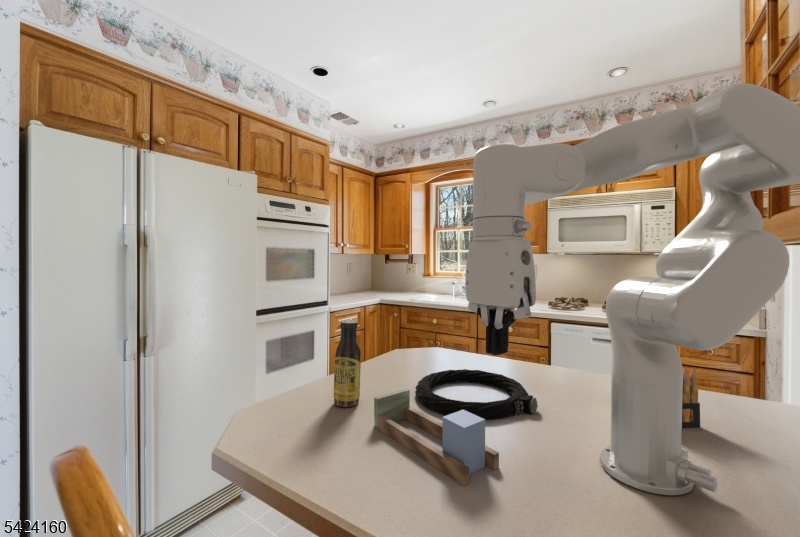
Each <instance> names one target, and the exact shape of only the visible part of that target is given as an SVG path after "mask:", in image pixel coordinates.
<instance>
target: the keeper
mask: <svg viewBox="0 0 800 537" xmlns="http://www.w3.org/2000/svg"><path fill="white" fill-rule="evenodd" d="M441 423H442V440H441V441H442V447H441V448H442V449H441V451H443V452H445V453H446V454H448V455H449V456H451V457H453V458H454V459H456V460H458V461H459V462H461V463H463V464H464V465H466V466H467V467H469V476H470V475H472V474H474V473H476V472H478V471H480V470H481V469H484V468H486V465H485V446H486V419H483V418H481V417H479V416H476V415H474V414H472V413H470V412H467V411H465V410H460V411H458V412H455V413H452V414H449V415H447V414H445V415H444V416H442V422H441Z"/></svg>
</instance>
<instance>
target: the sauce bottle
mask: <svg viewBox="0 0 800 537" xmlns="http://www.w3.org/2000/svg"><path fill="white" fill-rule="evenodd" d="M339 327H340V339H339V343H338V345H337V347H336V350H335V355H334V368H333V369H334V372H333V375H334V376H333V402H334V405H335V406H337V407H341V408H352V407H355V406H356V405H357V404H358V403H359V401H360V395H361V366H362V365H361V364H362V363H361V362H362V360H361V359H362V358H361V356H362V355H361V354H362V351H361V350H362V349H361V347H360V346H359V344H358V341H357V332H358V331H357V329H358V321H356V320H352V319H348V320H347V319H346V320H341V321H340V324H339Z"/></svg>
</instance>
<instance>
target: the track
mask: <svg viewBox="0 0 800 537" xmlns="http://www.w3.org/2000/svg"><path fill="white" fill-rule="evenodd" d="M410 395H411V394H410V389H408V388H403V389H400V390H397V391H391V392H389V393H385V394H382V395H379V396H375V397H374V398H373V400H374V401H373V403H374V404H373V406H374V407H373V408H374V409H373V410H374V412H373V415H374V418H373V419H374V420H373V423H374V427H376V429H379V431H381V432H382V433H384V434H385V435H387V436H388V437H390V438H392V439H393V440H395V442H397V443H399V444H401V445H402V446H404V447H405V448H407V449H408V450H409V451H411V452H412V453H414V454H415V455H417V456H418V457H420V458H421V459H423V460H424V461H425V462H427V463H428V464H430V465H431V466H433V467H434V468H436V469H437V470H438V471H440V472H442V473H444V475H446V476H447V477H449V478H451V479H453V481H455V482H456V483H458V484H460V485H461V486H462V487H465V486H467V485H469V484H470V475H469V467H467V466H466V465H464V464H463V463H461V462H459V461H458V460H456V459H454V458H453V457H451V456H449V455H448V454H446V453H445V452H443V451H442V449H440V448H438V447H436V446H435V445H434V444H432V443H430V442H429V441H426V440H424V438H421V437H420V436H418V435H416V434H415V433H413V432H412V431H410V430H409V429H407V428H405V427H404V426H402V425H401V424H398V423H397V422H400V421H402V420H406V421H409V422H410V423H412V424H413V425H415V426H417V427H419V429H420V428H421V429H422V430H424V431H426V432H427V433H429V434H431V435H433V436H434V437H437V438H438V439H440V440H441V441H442V422H441V421H439V420H438V419H436V418H434V417H431V416H430V415H427V414H426V413H424V412H422V411H420V410H418V409H417V408H414V407H413V406H412V407H411V406H410V405H411V403H410ZM485 466H487V467H488V468H490V469H492V470H497V469H498V468H500V452H498V451H497V450H495V449H493V448H491V447H489V446H487V445H485Z"/></svg>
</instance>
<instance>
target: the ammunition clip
mask: <svg viewBox="0 0 800 537" xmlns="http://www.w3.org/2000/svg"><path fill="white" fill-rule="evenodd" d="M698 387H699V386H698V376H697V371H696V369H695V368H694V367H693V368H692V370H691V371H690V374H689V372H688V369H687V368H683V391H682V429H695V428H697V429H700V428H701V403H700V402H699V388H698Z"/></svg>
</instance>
